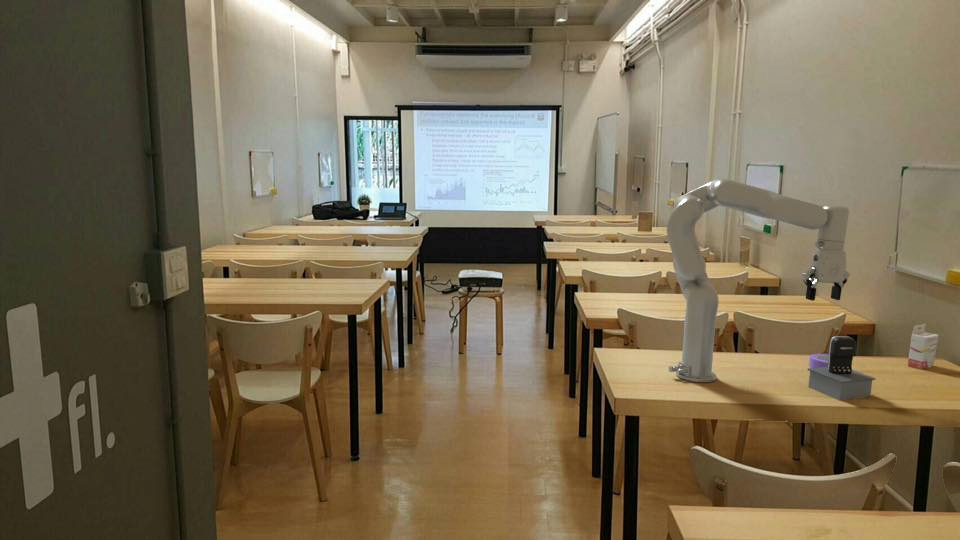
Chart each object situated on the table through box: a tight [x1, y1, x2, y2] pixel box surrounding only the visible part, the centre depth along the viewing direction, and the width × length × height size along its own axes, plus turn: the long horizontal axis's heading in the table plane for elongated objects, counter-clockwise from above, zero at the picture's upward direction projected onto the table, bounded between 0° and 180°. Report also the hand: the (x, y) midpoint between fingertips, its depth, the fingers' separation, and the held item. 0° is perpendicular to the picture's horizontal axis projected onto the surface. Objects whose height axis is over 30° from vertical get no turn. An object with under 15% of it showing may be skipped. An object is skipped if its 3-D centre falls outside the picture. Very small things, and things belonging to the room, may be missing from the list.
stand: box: [807, 367, 876, 401], centre depth 200 cm, size 13×13×6 cm
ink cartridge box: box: [907, 323, 939, 370], centre depth 227 cm, size 9×5×15 cm, turn 120°
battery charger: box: [827, 335, 857, 374], centre depth 199 cm, size 7×4×11 cm, turn 88°
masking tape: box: [808, 353, 829, 368], centre depth 224 cm, size 12×12×4 cm
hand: (822, 299), depth 202 cm, fingers open, 9 cm apart
